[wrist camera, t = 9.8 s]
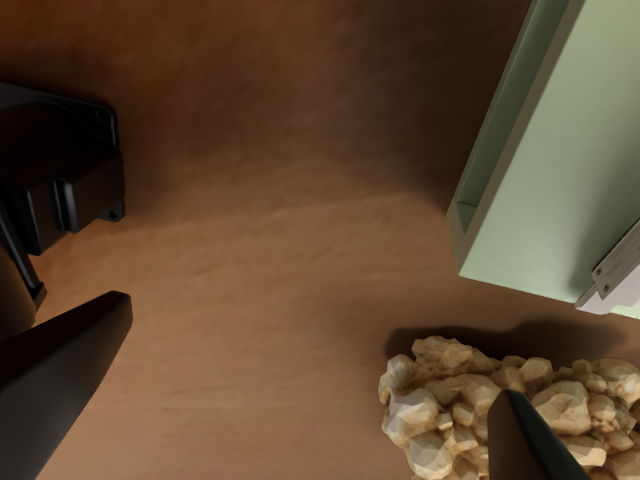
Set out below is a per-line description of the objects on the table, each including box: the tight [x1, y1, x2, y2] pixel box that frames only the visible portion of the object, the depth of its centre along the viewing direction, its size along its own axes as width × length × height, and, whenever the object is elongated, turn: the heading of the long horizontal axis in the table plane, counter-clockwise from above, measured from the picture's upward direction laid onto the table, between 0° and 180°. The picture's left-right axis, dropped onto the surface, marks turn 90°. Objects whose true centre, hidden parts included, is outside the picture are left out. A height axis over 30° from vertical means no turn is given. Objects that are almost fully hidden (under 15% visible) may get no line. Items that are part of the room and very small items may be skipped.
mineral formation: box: [378, 336, 640, 480], centre depth 23 cm, size 8×13×15 cm
